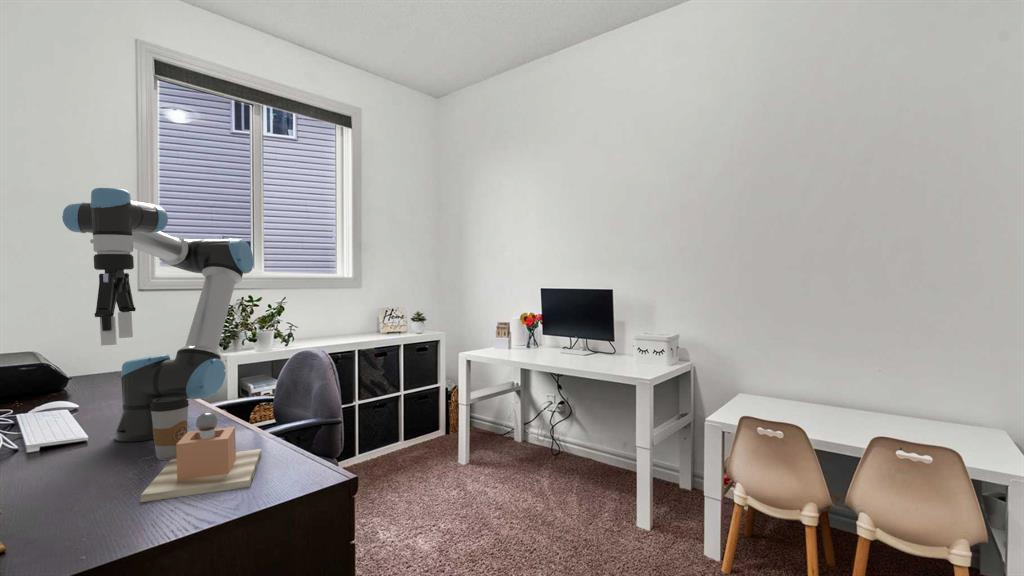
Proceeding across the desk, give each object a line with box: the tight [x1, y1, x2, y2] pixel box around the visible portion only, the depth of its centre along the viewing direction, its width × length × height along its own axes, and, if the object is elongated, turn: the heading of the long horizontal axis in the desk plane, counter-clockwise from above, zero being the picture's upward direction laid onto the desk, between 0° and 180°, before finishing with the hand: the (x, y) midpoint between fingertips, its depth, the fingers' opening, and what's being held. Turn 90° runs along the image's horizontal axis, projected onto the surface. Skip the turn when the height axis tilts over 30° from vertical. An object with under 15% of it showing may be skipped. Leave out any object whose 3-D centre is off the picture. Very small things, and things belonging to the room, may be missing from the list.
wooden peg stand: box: [140, 411, 262, 503], centre depth 117 cm, size 22×20×15 cm
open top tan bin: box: [176, 426, 237, 480], centre depth 117 cm, size 10×10×8 cm
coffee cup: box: [150, 395, 190, 461], centre depth 130 cm, size 8×8×15 cm
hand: (117, 341), depth 122 cm, fingers open, 13 cm apart
